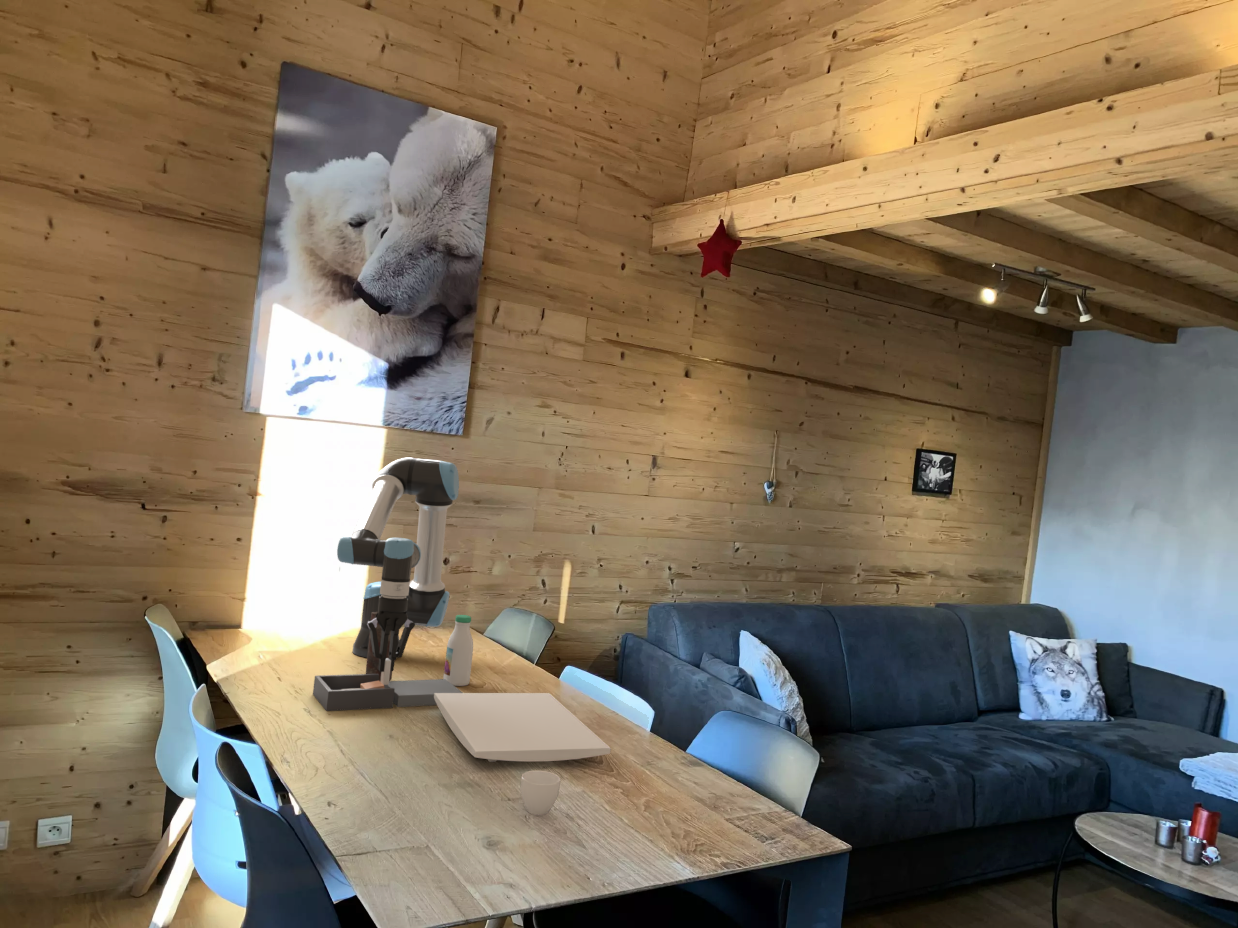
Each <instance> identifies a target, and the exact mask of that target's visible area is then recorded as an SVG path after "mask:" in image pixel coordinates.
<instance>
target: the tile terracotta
mask: <svg viewBox="0 0 1238 928" xmlns="http://www.w3.org/2000/svg"><path fill="white" fill-rule="evenodd" d="M360 688H361V689H374V688H384V685H383V684H382V683H381V682H380V681H373V682H368V683H362V684H360Z"/></svg>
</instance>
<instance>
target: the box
mask: <svg viewBox="0 0 1238 928" xmlns="http://www.w3.org/2000/svg"><path fill="white" fill-rule="evenodd" d="M373 681H379V674H366V673H359V674H357V673H356V674H355V673H354V674H326V675H325V674H323V675H318V674H317V675H314V681H313V690H312V695H313V697H314V698H315V699H316V700H317V702H319V704H320V705H321V706H322V708H323V709H324V710H325V711H326V712H334V711H336V712H337V711H355V710H356V711H357V710H373V709H375V710H376V709H377V710H378V709H391V708H393V706H394V703H393V699H394V690H395V689H394V688H374V689H356V688H360V684H362V683H368V682H373ZM341 689H348V690H341Z"/></svg>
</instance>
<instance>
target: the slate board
mask: <svg viewBox="0 0 1238 928" xmlns="http://www.w3.org/2000/svg"><path fill="white" fill-rule="evenodd" d="M384 688H394V689H395V690H394V699H393V705H395V706H396V708H398V707H399V708H404V707H424V706H437V704H436V701H435V699H434V693H464V692H463V691H462V690H460V689H459V688H457V686H454V685H452V684H451V683H450V682H448V681H447V680H446V679H442V678H440V679H439V678H437V679H415V680H413V679H411V680H410V679H409V680H390V681H389V685H384Z"/></svg>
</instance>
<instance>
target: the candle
mask: <svg viewBox="0 0 1238 928" xmlns="http://www.w3.org/2000/svg"><path fill="white" fill-rule="evenodd" d="M377 613H378V612H372V613H371V620H373V619H375V616H376V614H377ZM381 629H382V628H381V627H380V625H379V624H378V622H377V627H376V631H377V638H378V645H379V653H380V644H381V635H382V633H381ZM390 638H391V631H390V634H389V637H388V646H387V655H386V658H389V647H390ZM365 665H366V666H365V674H379V681H381V672H380V671H379V669H378V667H379V658H376V657H375V656H374V655H373V652H372V645H371V637H370V634H369V645H368V654H367V657H366V664H365ZM392 676H393V671H390V677H389V681H392Z"/></svg>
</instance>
